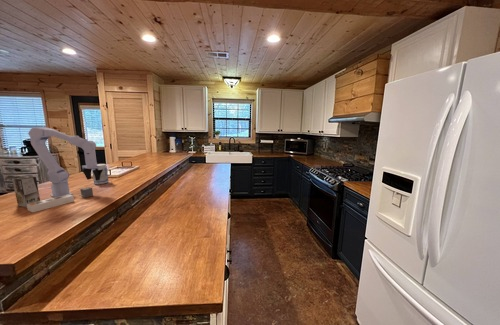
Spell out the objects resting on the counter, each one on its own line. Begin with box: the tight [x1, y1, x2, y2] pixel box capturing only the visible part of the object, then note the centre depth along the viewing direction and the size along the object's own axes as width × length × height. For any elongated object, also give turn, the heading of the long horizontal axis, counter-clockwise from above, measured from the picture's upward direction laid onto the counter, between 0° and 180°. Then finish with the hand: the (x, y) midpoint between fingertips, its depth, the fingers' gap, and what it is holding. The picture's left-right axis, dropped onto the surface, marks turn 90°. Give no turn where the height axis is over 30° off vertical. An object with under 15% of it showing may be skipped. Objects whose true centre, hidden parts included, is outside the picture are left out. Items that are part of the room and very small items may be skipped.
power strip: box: [26, 194, 75, 213], centre depth 115 cm, size 18×6×4 cm, turn 154°
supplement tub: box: [91, 163, 110, 185], centre depth 160 cm, size 10×10×15 cm
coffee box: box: [11, 175, 41, 208], centre depth 115 cm, size 9×6×16 cm
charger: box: [78, 186, 94, 199], centre depth 129 cm, size 6×4×5 cm
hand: (93, 179), depth 135 cm, fingers open, 7 cm apart
